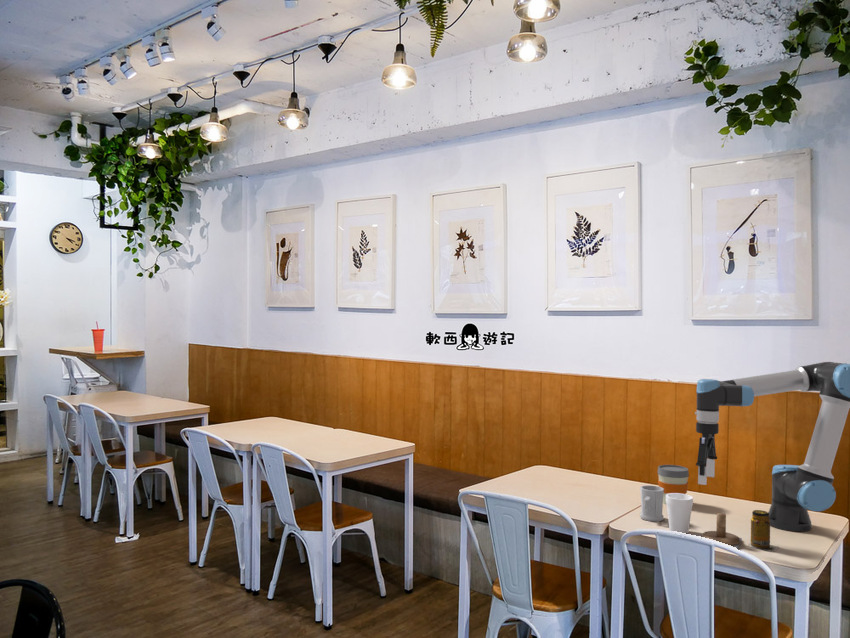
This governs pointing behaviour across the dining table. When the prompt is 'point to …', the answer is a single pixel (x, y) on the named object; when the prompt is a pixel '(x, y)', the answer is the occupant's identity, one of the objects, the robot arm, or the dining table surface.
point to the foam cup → (679, 511)
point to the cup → (651, 503)
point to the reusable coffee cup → (673, 479)
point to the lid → (722, 532)
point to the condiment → (761, 531)
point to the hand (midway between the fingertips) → (706, 480)
